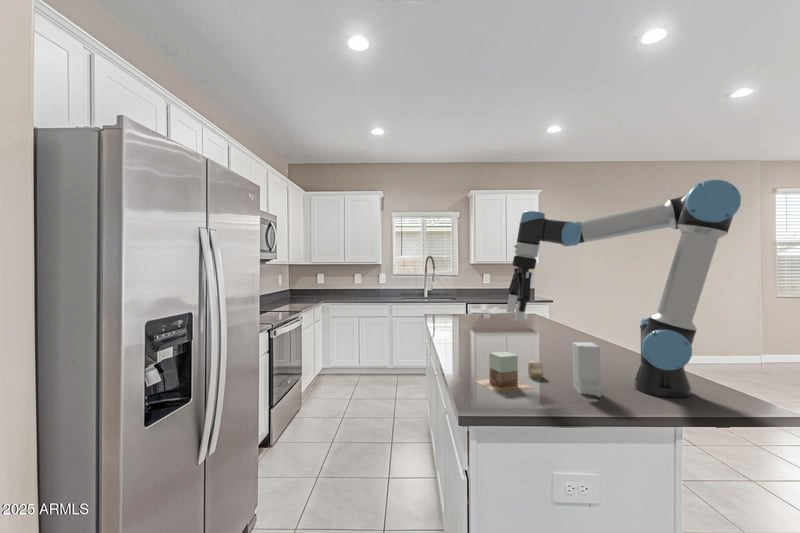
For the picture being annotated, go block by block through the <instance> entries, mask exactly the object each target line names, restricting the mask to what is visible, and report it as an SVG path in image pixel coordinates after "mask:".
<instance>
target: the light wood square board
mask: <svg viewBox="0 0 800 533" xmlns="http://www.w3.org/2000/svg"><path fill="white" fill-rule="evenodd" d="M474 382H476V383H478V384H479V385H481V386H483V387H485V388H487V389H488V390H490V391H492V392H494V393H496V394H500V393H507V392H509V393H510V392H515V391H516V392H517V391H525V390H531V389H532V390H533V389H535V387H533V386H531V385H528V384H526V383H524V382H522V381H519V380H518V386H514V387H506V388H499V387H497V386H495V385H493V384H491V383H490V378H486V379H477V380H474Z"/></svg>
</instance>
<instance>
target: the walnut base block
mask: <svg viewBox="0 0 800 533" xmlns="http://www.w3.org/2000/svg"><path fill="white" fill-rule="evenodd" d="M518 371H519V370H518ZM518 371H511V372H502V373H500V372H498V371H496V370H494V369H491V368H490V367H489V379H490V383H491V384H493V385H495V386H497V387H499V388H506V387H514V386H518V381H519V378H518V376H519V375H518Z"/></svg>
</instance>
